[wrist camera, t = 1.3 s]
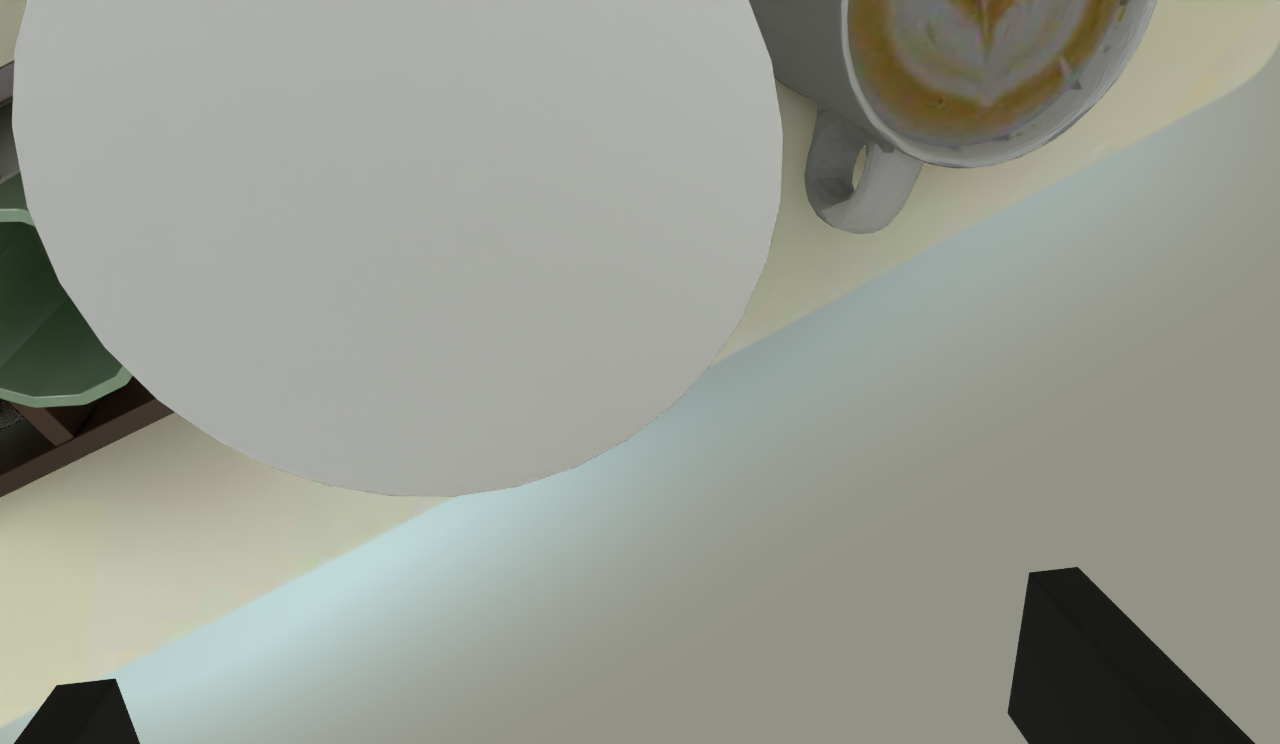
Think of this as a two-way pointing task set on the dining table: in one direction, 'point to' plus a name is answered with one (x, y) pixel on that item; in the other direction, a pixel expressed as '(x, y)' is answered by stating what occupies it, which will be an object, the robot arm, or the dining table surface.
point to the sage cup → (43, 321)
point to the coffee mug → (938, 85)
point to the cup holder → (68, 413)
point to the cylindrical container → (404, 217)
